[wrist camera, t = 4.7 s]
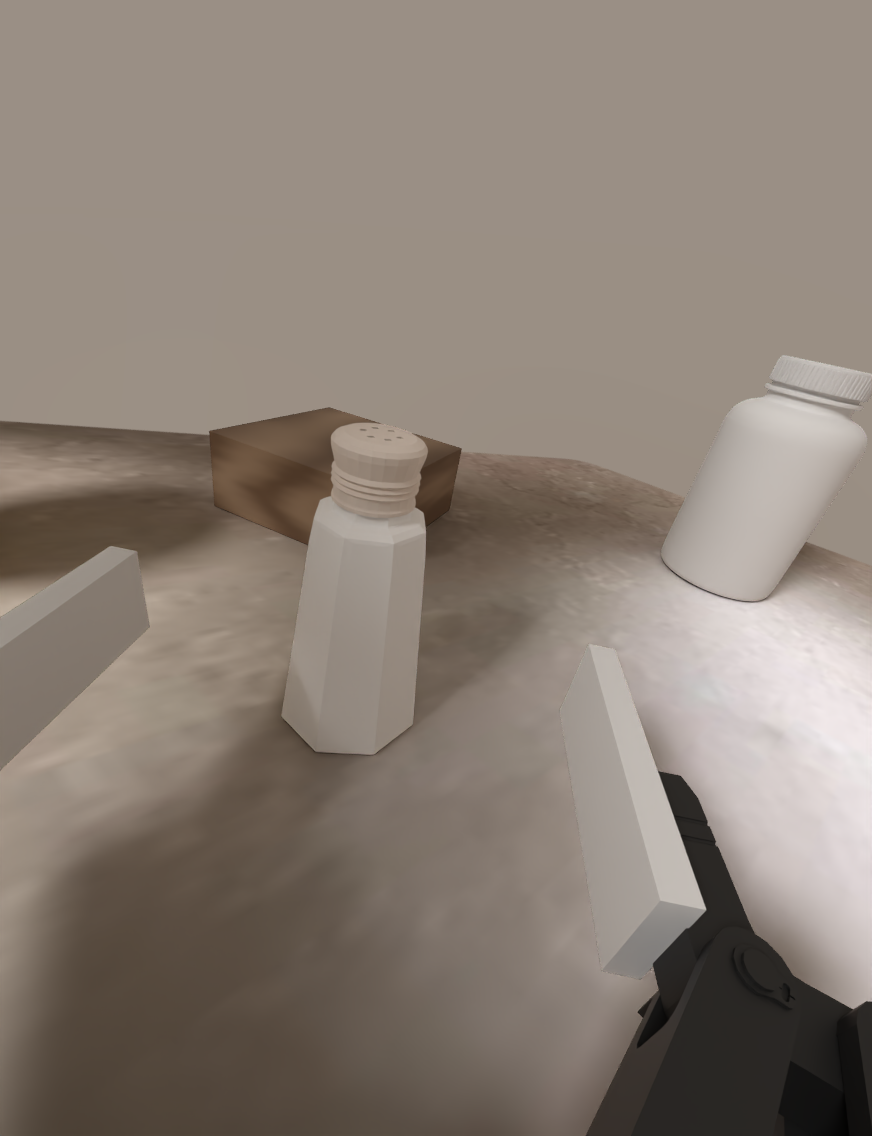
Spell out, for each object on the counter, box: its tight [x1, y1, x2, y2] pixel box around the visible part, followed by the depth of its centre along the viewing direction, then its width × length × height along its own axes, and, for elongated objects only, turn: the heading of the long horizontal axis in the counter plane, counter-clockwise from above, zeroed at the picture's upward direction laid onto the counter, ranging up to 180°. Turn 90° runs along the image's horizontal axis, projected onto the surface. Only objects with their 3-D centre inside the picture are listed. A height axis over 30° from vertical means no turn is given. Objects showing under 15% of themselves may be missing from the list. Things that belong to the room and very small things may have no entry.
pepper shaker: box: [281, 423, 428, 755], centre depth 16 cm, size 5×5×11 cm
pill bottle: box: [661, 355, 872, 601], centre depth 32 cm, size 8×8×15 cm
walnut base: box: [209, 408, 461, 545], centre depth 33 cm, size 12×12×5 cm
